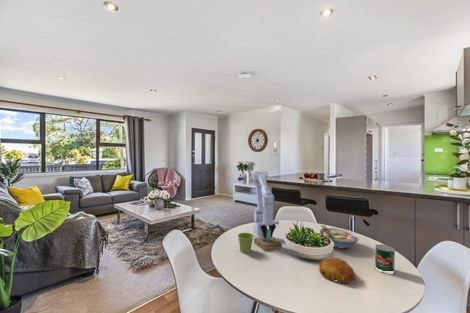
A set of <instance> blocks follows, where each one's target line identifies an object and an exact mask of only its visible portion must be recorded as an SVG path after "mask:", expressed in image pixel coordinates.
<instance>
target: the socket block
mask: <svg viewBox="0 0 470 313" xmlns="http://www.w3.org/2000/svg"><path fill="white" fill-rule="evenodd" d="M253 244H254V245H255V246H257V247H259V248H260V249H261V250H262V251H263V252H265V251H266V252H267V251H271V250H277V249H282V242H281V241H280V240H278V239H276V238H275V237H273V236H272V237H271V242H267V243H266V242H265V238H264V237H259V238H257V237H254V238H253Z"/></svg>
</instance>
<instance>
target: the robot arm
mask: <svg viewBox="0 0 470 313" xmlns="http://www.w3.org/2000/svg"><path fill="white" fill-rule="evenodd" d="M268 175H269V173H268V171H255V170H254V171H253V172H252V184H253V185H254V186H255V189H256V201H257V202H256V203H257V209H255V210H254V212H253V221H254V224H253V233H252V234H253V235H254V237H255V238H259V237H264V238H266V232H267V229H271V237H273V236H274V235H273V234H274V232H275V229H276V228H277V225H279V224H280V221H278V220H274V205H275V203H276V202H275V194H273V193H272V190H271V188H270V186H268V184H267V181H268V177H269V176H268Z"/></svg>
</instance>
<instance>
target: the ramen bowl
mask: <svg viewBox="0 0 470 313" xmlns="http://www.w3.org/2000/svg"><path fill="white" fill-rule="evenodd" d="M320 226H321V227H322V228H321V229H319V232H318V233H319V234H320V233H323V234H324V235H325V236H326V237H328V238H329V239H331V240H332V241H333V242H334V246H333V247H335V246H336V247H335V248H338V247H344V248H350V247H353V246H354V245H355V244H357V243H358V241H359V240H360V238H361V237H360V235H359V234H358V233H356V232H354V231H352V230H348V229H345V228H341V227H340V228H338V227H327V226H326V225H322V224H320Z"/></svg>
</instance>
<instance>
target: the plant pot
mask: <svg viewBox="0 0 470 313" xmlns="http://www.w3.org/2000/svg"><path fill="white" fill-rule="evenodd" d="M237 237H238V241H239V242H238V243H239V251H240V252H241V253H245V254H246V253H250V252H251V251H252V244H253V241H254V238H255V236H254V235H253V233H249V232H239V233H238V234H237Z"/></svg>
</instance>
